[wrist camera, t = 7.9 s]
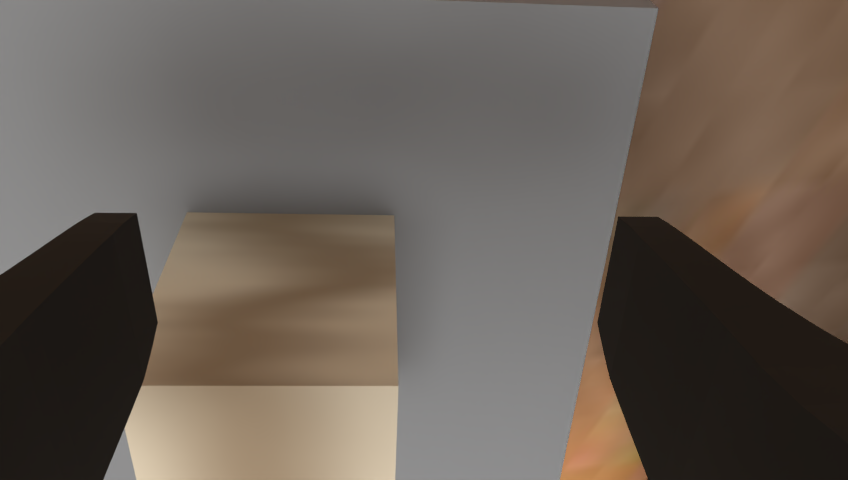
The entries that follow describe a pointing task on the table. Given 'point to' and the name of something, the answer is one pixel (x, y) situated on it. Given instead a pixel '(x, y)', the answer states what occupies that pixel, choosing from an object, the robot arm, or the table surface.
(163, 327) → the maple block
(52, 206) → the slate plinth
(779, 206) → the table surface
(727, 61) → the table surface
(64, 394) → the robot arm
